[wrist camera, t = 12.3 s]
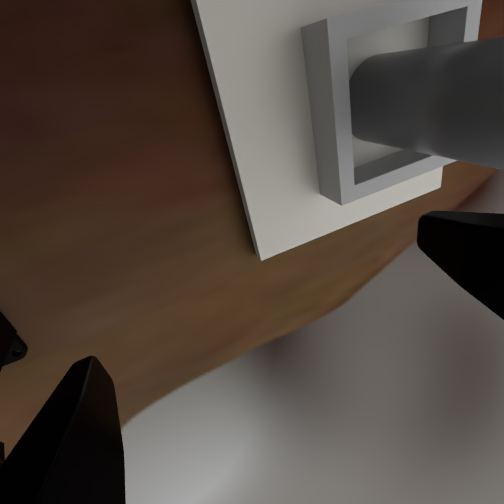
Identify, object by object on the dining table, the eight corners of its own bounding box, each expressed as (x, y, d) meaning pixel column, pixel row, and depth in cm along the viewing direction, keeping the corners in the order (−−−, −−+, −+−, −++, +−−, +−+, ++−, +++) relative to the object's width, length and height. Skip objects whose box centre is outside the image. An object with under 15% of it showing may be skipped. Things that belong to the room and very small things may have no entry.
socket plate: (256, 254, 23) (275, 278, 20) (183, -26, 15) (200, -55, 12) (430, 184, 26) (469, 195, 23) (450, -79, 18) (514, -112, 15)
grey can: (330, 134, 20) (579, 187, 9) (358, 39, 18) (715, -37, 7) (391, 149, 22) (652, 205, 11) (422, 65, 20) (773, 36, 9)
